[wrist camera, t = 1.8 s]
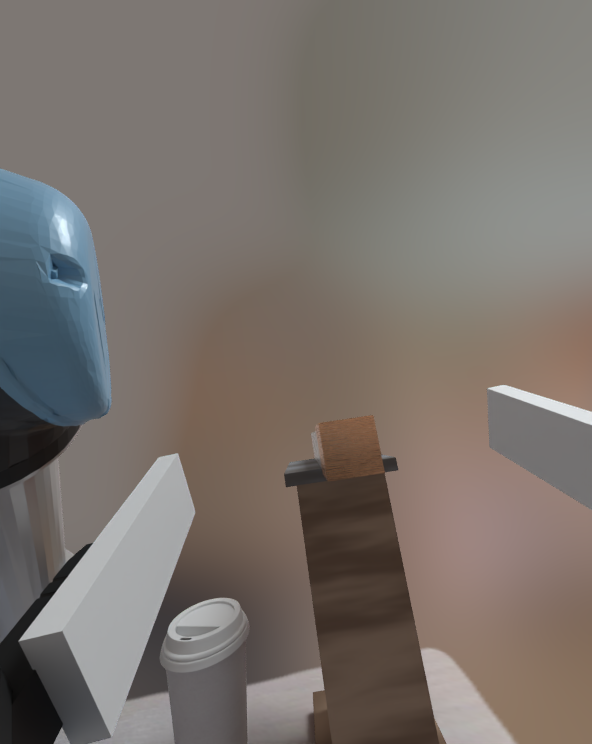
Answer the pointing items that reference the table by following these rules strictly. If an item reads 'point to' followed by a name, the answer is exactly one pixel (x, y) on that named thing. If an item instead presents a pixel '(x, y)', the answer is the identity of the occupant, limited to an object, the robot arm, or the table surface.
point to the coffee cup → (208, 673)
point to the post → (361, 613)
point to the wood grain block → (347, 448)
